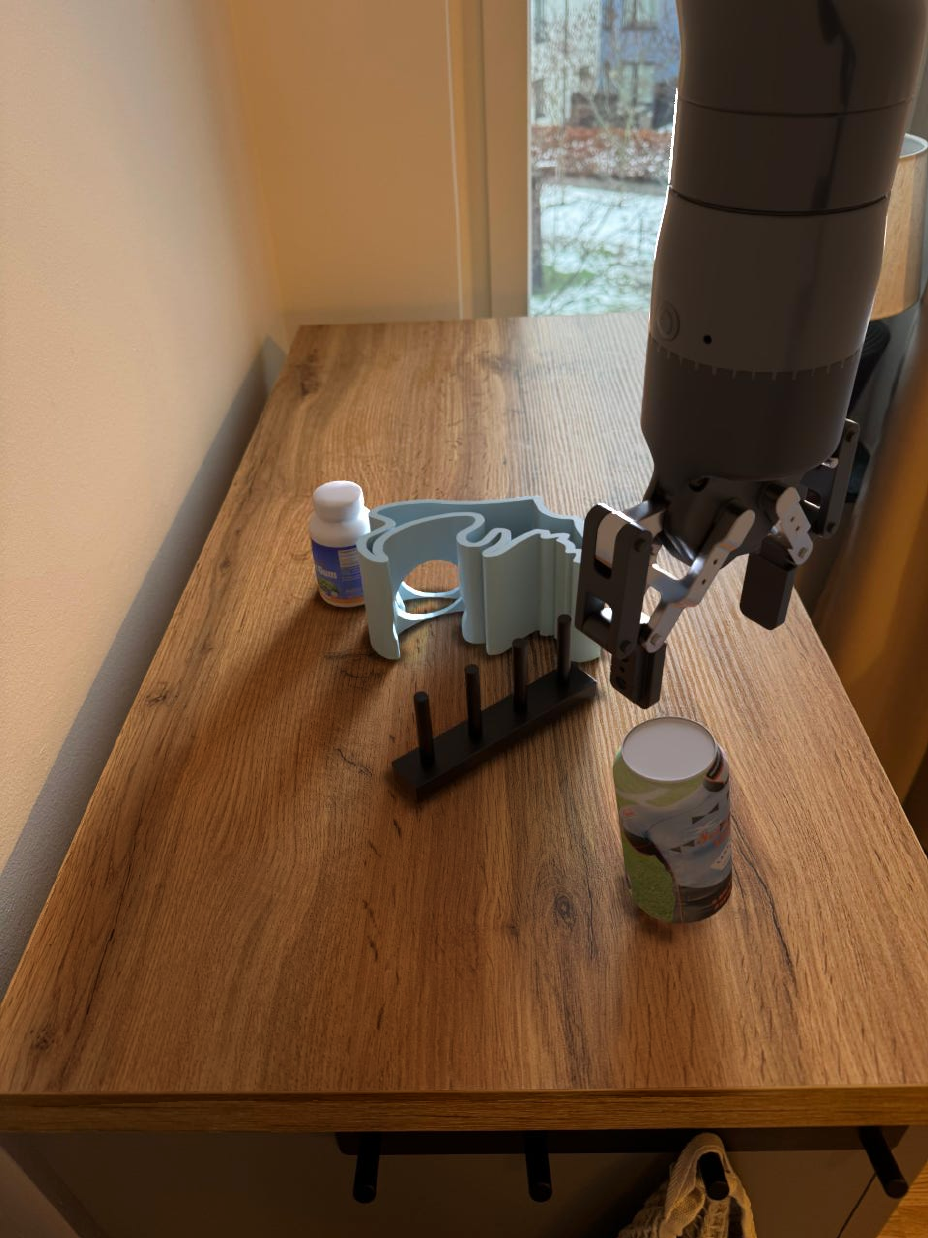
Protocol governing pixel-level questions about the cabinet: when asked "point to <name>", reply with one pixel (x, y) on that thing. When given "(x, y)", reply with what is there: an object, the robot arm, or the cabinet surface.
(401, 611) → the squiggly pen holder
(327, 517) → the pill bottle
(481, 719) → the rack
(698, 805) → the beverage can
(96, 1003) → the cabinet surface
